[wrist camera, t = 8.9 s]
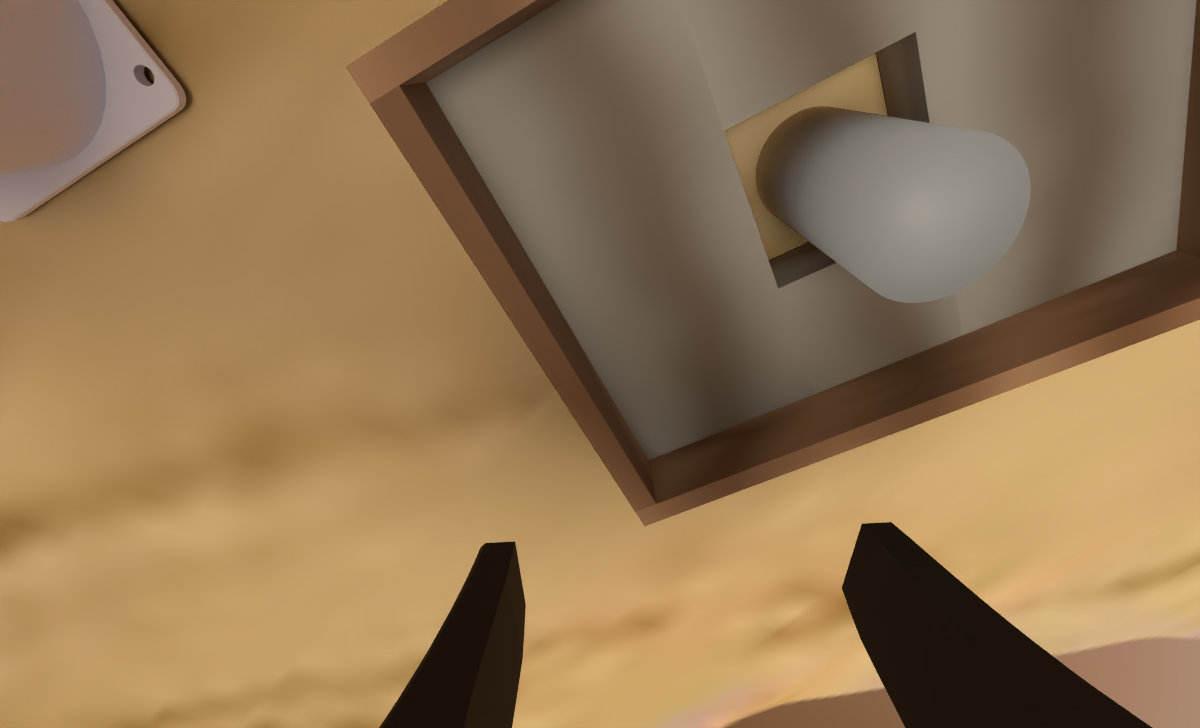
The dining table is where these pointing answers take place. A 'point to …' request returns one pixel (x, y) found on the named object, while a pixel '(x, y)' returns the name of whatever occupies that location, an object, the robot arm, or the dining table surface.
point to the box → (806, 274)
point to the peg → (896, 197)
